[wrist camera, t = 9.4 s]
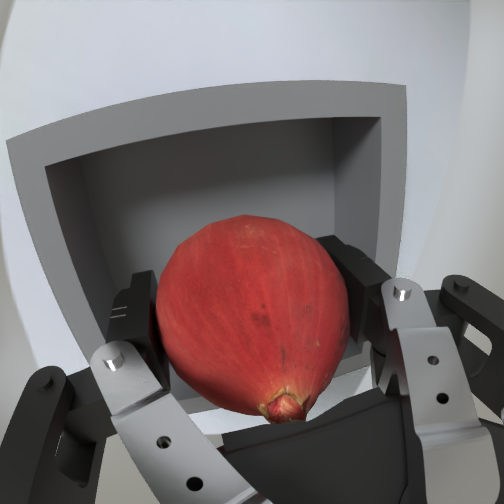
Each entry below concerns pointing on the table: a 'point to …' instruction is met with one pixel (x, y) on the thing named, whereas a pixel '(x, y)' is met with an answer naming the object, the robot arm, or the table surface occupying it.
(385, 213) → the box
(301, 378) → the pomegranate
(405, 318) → the robot arm
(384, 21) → the table surface
